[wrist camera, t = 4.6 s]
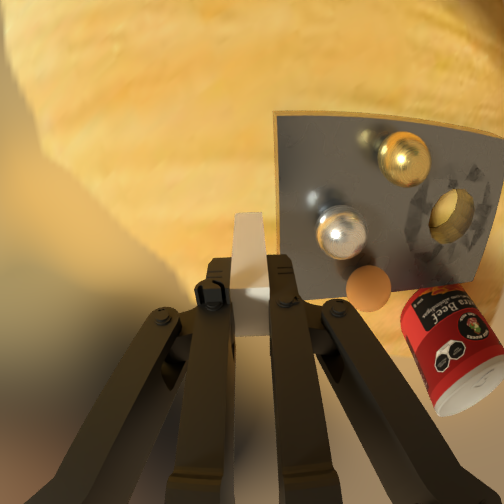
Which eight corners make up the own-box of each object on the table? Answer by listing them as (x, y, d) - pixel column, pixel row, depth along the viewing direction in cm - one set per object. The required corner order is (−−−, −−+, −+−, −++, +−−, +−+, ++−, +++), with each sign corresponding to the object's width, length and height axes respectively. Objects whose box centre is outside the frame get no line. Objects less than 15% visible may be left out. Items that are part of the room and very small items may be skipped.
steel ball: (310, 197, 18) (322, 221, 15) (360, 195, 17) (380, 219, 15) (309, 242, 19) (318, 272, 17) (355, 240, 19) (371, 268, 16)
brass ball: (370, 124, 15) (394, 136, 12) (416, 129, 15) (445, 141, 12) (367, 176, 17) (388, 196, 14) (411, 177, 17) (437, 197, 14)
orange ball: (343, 257, 20) (357, 287, 17) (385, 254, 20) (403, 282, 17) (338, 293, 22) (349, 324, 19) (377, 289, 22) (391, 318, 19)
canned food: (468, 271, 24) (525, 350, 15) (446, 326, 29) (485, 402, 19) (408, 280, 24) (461, 377, 15) (390, 338, 29) (423, 426, 20)
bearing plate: (272, 111, 17) (276, 115, 15) (490, 132, 17) (510, 141, 15) (277, 280, 24) (279, 301, 22) (459, 265, 24) (472, 281, 22)
